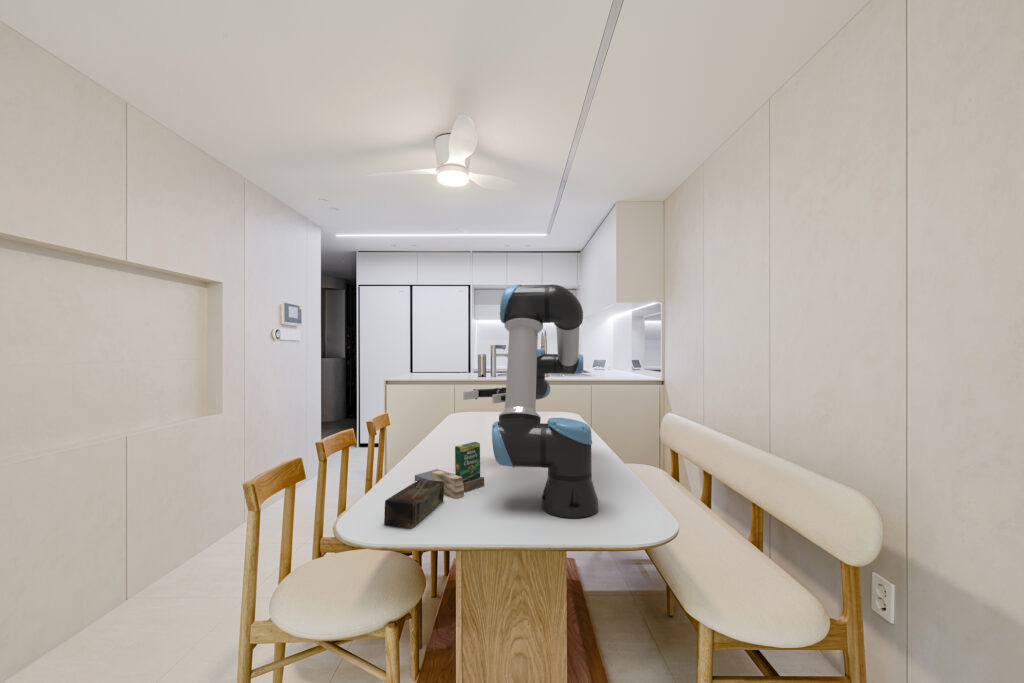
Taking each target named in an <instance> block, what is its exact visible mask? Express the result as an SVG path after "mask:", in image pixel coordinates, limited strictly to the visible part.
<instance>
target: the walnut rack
mask: <svg viewBox="0 0 1024 683" xmlns="http://www.w3.org/2000/svg"><path fill="white" fill-rule="evenodd" d="M463 484H464V493H467V491H468V492H469V491H473V490H476V489H478V487H479V488H482V487H484V486H485V477H483V476H480V478H477V479H474V480H471V481H468V482H465V483H463ZM481 486H482V487H481ZM475 488H476V489H475ZM472 489H473V490H472Z"/></svg>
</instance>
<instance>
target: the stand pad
mask: <svg viewBox="0 0 1024 683" xmlns="http://www.w3.org/2000/svg"><path fill="white" fill-rule="evenodd" d="M439 470H440V471H443V472H446V473H450V474H453V475H455V473H451V472H448V471H445V470H442V469H438V468H436V469H432V470H428V471H425V472H422V473H421V472H420V473H418V474H415V475H414V482H415V481H418V480H420V479H424V478H427V479H428V480H433V481H435V479H433V478H432V472H435V471H439Z"/></svg>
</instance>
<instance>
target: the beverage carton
mask: <svg viewBox="0 0 1024 683" xmlns="http://www.w3.org/2000/svg"><path fill="white" fill-rule="evenodd" d="M444 497H445V495H444V482H442V481H433V480H428V479H427V478H424V479H420V480H418V481H417V482H415V481H414V483H413V482H412V483H411V484H410V485H408V486H406V487H405V488H403V489H401V490H399V491H398V492H397V493H394V494H393V495H392V496H390V497H389V498H387V499H385V501H384V518H383V522H384V523H383V525H385V526H390V527H398V528H402V527H403V529H408V530H409V529H412V528H415V526H416V525H417V524H419V523H420V522H421V521H422V520H423V519H425V518H426V517H427V516H428V515H430V514H431V513H432V512H433V511H434V510H435V509H436V508H438V507H439V506H440V505H441V504H442V503H443V502H444ZM440 503H441V504H440ZM439 504H440V505H439ZM438 505H439V506H438ZM437 506H438V507H437ZM430 512H431V513H430Z"/></svg>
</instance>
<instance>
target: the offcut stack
mask: <svg viewBox="0 0 1024 683" xmlns="http://www.w3.org/2000/svg"><path fill="white" fill-rule="evenodd" d="M438 470H439V471H435V472H432V478H433V479H435V481H442V482H444V496H446V495H447V496H446V497H449V496H450V498H453V499H455V498H456V499H460V498H462V496H463V497H464V496H465V492H464V484H463V477H460V476H457V475H453V474H454V473H452V474H450V473H451V472H449V473H446V472H447V471H445V472H443V471H444V470H442V471H440V470H441V469H438ZM459 497H460V498H459Z"/></svg>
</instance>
